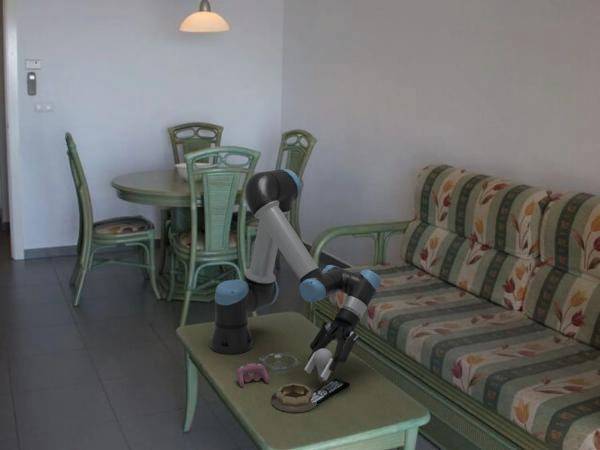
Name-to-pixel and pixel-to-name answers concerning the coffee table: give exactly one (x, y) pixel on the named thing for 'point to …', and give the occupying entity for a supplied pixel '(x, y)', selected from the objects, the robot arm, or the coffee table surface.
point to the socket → (293, 398)
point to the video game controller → (251, 368)
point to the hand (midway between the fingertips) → (315, 374)
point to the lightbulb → (322, 361)
